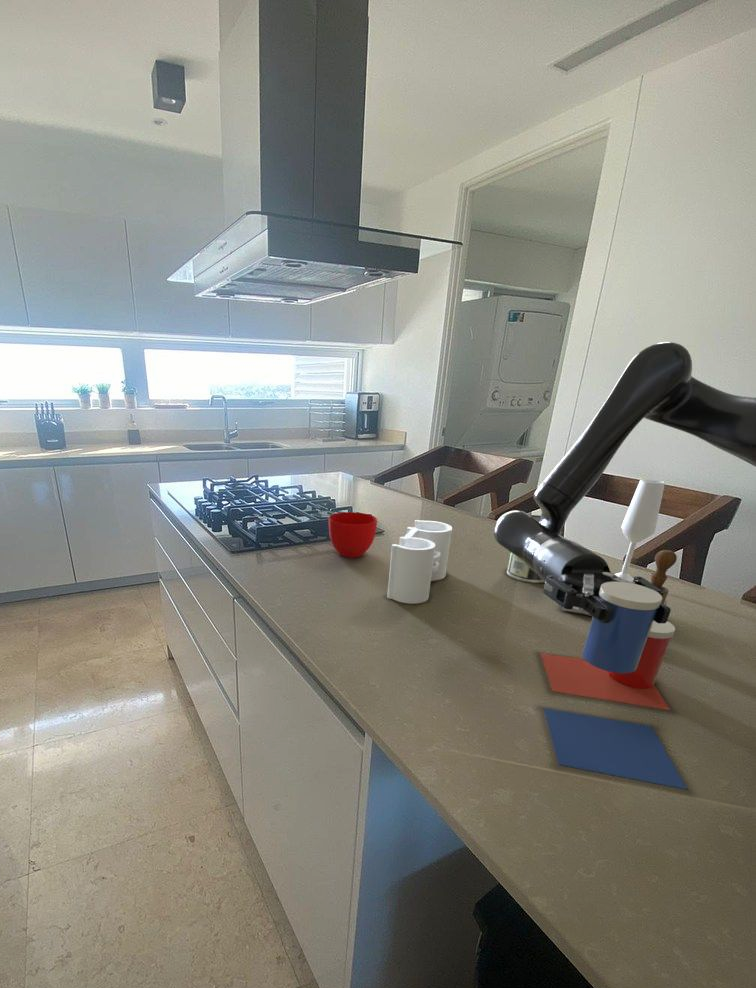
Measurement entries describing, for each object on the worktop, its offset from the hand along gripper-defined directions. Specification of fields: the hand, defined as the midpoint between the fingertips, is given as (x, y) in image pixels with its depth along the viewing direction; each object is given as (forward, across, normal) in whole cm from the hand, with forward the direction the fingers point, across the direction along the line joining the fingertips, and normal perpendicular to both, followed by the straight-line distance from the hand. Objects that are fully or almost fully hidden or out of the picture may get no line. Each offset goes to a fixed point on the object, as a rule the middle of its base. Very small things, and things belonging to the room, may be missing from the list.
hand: (637, 616), depth 59 cm
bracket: (-53, -13, +18) cm, 58 cm away
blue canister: (-2, 0, +8) cm, 8 cm away
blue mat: (+3, 0, +18) cm, 18 cm away
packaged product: (-38, +24, +18) cm, 48 cm away
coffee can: (-59, +16, +18) cm, 64 cm away
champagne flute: (-57, +38, +18) cm, 71 cm away
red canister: (-13, +13, +18) cm, 25 cm away
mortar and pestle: (-25, +22, +18) cm, 38 cm away
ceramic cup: (-76, -26, +18) cm, 82 cm away
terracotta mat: (-13, +7, +18) cm, 23 cm away
